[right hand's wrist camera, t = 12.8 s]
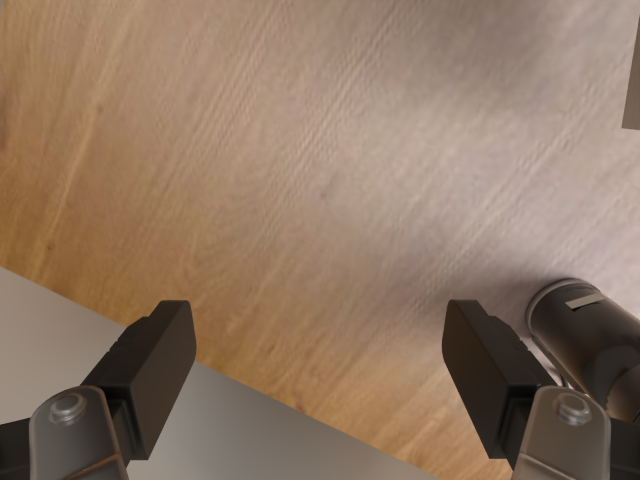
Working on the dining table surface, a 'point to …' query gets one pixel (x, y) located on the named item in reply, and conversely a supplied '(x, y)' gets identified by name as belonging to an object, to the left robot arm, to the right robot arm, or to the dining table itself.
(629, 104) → the box
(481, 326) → the right robot arm
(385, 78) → the dining table surface
